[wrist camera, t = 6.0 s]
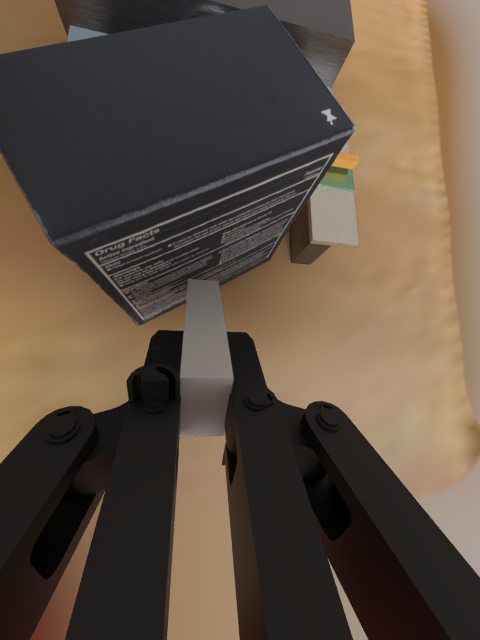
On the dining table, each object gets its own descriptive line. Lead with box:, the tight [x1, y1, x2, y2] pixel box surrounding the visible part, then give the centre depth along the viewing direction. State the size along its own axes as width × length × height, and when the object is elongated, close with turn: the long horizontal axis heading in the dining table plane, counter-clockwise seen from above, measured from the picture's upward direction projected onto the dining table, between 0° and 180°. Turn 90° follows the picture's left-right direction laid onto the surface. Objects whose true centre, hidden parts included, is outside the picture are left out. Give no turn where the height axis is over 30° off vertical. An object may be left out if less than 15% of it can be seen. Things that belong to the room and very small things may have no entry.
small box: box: [0, 5, 355, 325], centre depth 13 cm, size 11×6×10 cm, turn 121°
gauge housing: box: [55, 0, 359, 264], centre depth 17 cm, size 18×18×7 cm
